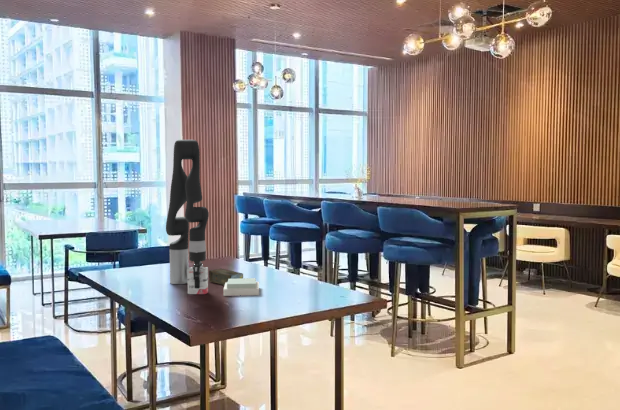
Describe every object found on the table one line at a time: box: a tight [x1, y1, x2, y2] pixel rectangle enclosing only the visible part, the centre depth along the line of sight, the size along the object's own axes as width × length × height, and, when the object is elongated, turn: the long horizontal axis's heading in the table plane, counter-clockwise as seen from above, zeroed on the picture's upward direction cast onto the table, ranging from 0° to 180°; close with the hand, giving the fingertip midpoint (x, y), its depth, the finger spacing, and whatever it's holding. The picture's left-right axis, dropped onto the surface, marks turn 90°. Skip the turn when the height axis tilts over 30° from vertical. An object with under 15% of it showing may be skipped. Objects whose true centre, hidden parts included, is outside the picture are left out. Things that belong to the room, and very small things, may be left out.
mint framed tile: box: [222, 277, 260, 297], centre depth 260 cm, size 16×16×5 cm
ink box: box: [187, 266, 209, 295], centre depth 257 cm, size 9×5×12 cm, turn 84°
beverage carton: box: [208, 268, 244, 286], centre depth 281 cm, size 8×19×7 cm, turn 45°
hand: (197, 286), depth 257 cm, fingers closed on ink box, 5 cm apart
